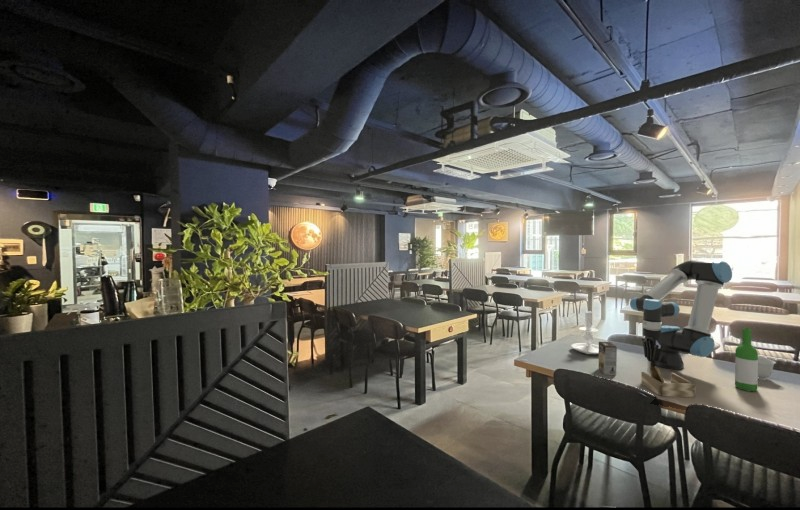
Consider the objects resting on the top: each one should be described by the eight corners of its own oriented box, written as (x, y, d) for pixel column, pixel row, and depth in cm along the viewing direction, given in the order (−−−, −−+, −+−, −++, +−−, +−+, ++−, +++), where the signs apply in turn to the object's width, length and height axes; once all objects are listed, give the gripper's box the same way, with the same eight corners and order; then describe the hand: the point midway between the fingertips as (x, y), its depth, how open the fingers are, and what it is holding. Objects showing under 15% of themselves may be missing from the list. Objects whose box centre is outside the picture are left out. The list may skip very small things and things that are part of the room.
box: (673, 384, 169) (673, 372, 169) (695, 397, 155) (695, 384, 154) (641, 383, 170) (641, 372, 170) (660, 396, 156) (660, 383, 156)
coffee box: (597, 368, 191) (598, 341, 191) (610, 369, 190) (610, 341, 190) (604, 374, 182) (604, 346, 182) (617, 375, 181) (617, 346, 181)
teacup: (775, 376, 176) (775, 358, 175) (775, 384, 166) (776, 365, 166) (743, 370, 185) (743, 352, 185) (741, 377, 175) (741, 359, 175)
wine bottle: (756, 393, 157) (757, 331, 156) (733, 387, 163) (734, 328, 162) (758, 389, 162) (759, 328, 161) (736, 383, 168) (737, 325, 167)
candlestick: (569, 356, 213) (568, 313, 212) (572, 345, 234) (572, 306, 233) (606, 361, 202) (606, 316, 201) (606, 350, 222) (607, 309, 222)
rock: (646, 373, 177) (639, 375, 171) (659, 363, 173) (652, 365, 167) (666, 391, 170) (659, 394, 164) (679, 381, 166) (673, 383, 160)
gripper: (636, 325, 180) (636, 367, 181) (652, 331, 167) (651, 377, 168) (651, 325, 179) (651, 368, 180) (668, 332, 166) (667, 378, 167)
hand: (651, 372), depth 174 cm, fingers closed
